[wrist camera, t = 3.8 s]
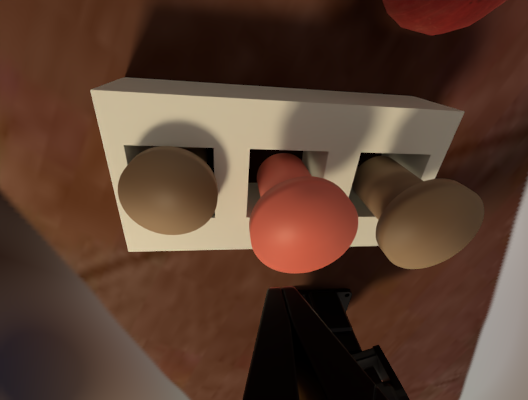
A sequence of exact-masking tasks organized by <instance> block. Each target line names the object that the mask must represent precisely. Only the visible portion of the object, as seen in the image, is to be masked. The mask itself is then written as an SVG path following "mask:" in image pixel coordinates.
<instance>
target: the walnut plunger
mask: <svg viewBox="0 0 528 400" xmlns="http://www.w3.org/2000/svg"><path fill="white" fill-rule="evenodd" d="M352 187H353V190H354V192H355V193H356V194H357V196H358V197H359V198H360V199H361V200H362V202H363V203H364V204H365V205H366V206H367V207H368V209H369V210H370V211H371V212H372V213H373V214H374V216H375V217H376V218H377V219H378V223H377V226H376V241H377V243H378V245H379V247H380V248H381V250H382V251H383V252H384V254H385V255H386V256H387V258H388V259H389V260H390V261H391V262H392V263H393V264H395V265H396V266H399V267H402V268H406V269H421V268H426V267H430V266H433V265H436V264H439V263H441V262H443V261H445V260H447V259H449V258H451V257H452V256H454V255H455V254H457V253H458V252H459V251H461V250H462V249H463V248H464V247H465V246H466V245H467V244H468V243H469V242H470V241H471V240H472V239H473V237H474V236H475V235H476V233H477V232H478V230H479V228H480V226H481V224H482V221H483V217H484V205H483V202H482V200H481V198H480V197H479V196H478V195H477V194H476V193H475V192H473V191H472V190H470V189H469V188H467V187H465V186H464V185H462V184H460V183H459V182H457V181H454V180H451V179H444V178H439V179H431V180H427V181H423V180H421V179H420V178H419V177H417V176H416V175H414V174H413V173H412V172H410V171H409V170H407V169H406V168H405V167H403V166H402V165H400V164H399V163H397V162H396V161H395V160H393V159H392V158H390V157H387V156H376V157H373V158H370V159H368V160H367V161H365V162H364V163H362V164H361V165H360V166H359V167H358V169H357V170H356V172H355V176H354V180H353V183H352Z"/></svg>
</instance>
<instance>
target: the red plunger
mask: <svg viewBox="0 0 528 400" xmlns="http://www.w3.org/2000/svg"><path fill="white" fill-rule="evenodd" d="M257 184H258V188H259V193H260V199H259V200H258V201H257V203H256V204H255V206H254V208H253V210H252V212H251V215H250V220H249V231H250V239H251V245H252V248H253V251H254V253H255V254H256V256H257V257H258V259H259V260H260V261H261V262H262V263H264V264H265V265H266V266H268V267H270V268H272V269H274V270H277V271H280V272H284V273H306V272H311V271H315V270H318V269H320V268H323V267H325V266H327V265H329V264H331V263H332V262H334V261H335V260H337V259H338V258H339V257H340V256H342V255H343V254H344V253H345V252H346V250H347V249H348V248H349V247H350V245H351V244H352V242H353V240H354V238H355V236H356V233H357V229H358V215H357V211H356V208H355V206H354V205H353V203H352V202H351V200H350V199H349V198H348V196H347V195H346V194H345V193H344V191H343V190H342V189H341V188H340V187H339V186H337V185H336V184H335V183H333V182H331V181H329V180H327V179H324V178H320V177H314V176H311V174H310V173H309V171H308V170H307V168H306V166H305V165H304V163H303V162H302V161H301V160H300V159H299V158H298V157H297V156H295V155H293V154H289V153H278V154H275V155H272V156H270V157H268V158H267V159H266V160H265V161H264V162H263V163H262V164H261V165H260V167H259V169H258V172H257Z"/></svg>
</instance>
